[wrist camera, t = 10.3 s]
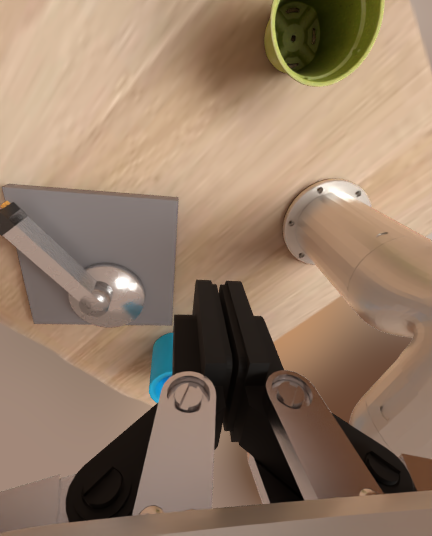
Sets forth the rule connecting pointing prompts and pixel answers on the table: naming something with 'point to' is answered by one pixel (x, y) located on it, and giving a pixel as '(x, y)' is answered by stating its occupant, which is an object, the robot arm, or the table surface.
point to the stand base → (101, 245)
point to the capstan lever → (77, 273)
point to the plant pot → (322, 37)
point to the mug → (161, 365)
